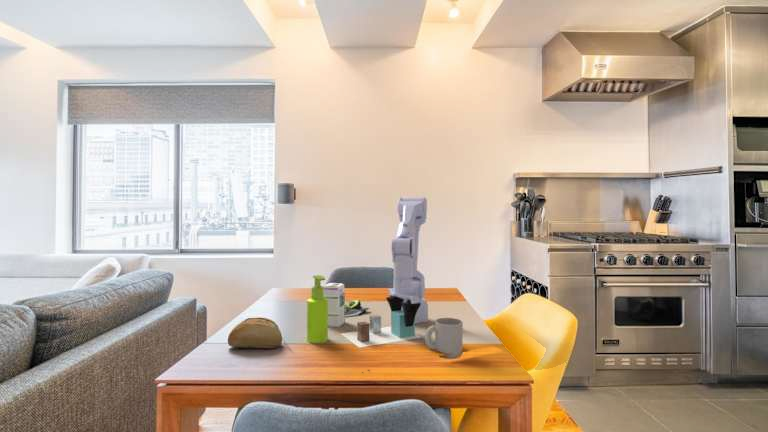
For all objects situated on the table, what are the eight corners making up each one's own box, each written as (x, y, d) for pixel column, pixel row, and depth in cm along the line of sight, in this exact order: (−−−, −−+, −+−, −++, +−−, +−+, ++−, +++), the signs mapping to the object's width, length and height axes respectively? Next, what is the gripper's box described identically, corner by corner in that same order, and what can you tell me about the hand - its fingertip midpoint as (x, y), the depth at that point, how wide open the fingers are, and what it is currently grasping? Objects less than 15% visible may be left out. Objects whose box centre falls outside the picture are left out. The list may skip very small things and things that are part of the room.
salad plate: (351, 324, 140) (351, 310, 140) (306, 319, 146) (306, 306, 146) (372, 311, 158) (372, 299, 158) (331, 307, 164) (331, 295, 164)
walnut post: (365, 338, 118) (365, 321, 118) (369, 341, 116) (369, 323, 116) (357, 339, 117) (357, 322, 117) (361, 342, 114) (361, 324, 114)
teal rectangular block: (405, 330, 126) (406, 309, 126) (414, 335, 121) (414, 313, 121) (391, 333, 123) (391, 311, 123) (399, 337, 119) (399, 315, 119)
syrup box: (339, 331, 130) (340, 286, 130) (322, 330, 131) (322, 285, 131) (345, 326, 135) (345, 283, 135) (328, 325, 137) (328, 282, 136)
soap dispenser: (311, 350, 112) (311, 278, 112) (304, 343, 118) (304, 274, 118) (331, 347, 115) (332, 276, 114) (323, 340, 121) (323, 273, 120)
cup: (465, 358, 106) (465, 324, 106) (427, 359, 106) (427, 325, 106) (458, 349, 113) (458, 317, 113) (423, 350, 113) (423, 318, 113)
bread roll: (233, 342, 119) (233, 314, 119) (285, 341, 121) (285, 314, 120) (223, 353, 110) (223, 324, 110) (279, 352, 111) (279, 323, 111)
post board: (398, 329, 132) (398, 325, 132) (421, 342, 119) (421, 337, 119) (340, 338, 123) (340, 333, 123) (359, 353, 110) (359, 347, 110)
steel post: (377, 330, 126) (377, 314, 126) (381, 332, 123) (381, 316, 123) (369, 331, 125) (369, 315, 125) (373, 334, 122) (373, 317, 122)
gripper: (380, 275, 127) (380, 318, 127) (403, 282, 114) (403, 330, 114) (400, 273, 130) (399, 316, 130) (424, 280, 117) (424, 327, 117)
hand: (402, 322), depth 122 cm, fingers open, 7 cm apart
